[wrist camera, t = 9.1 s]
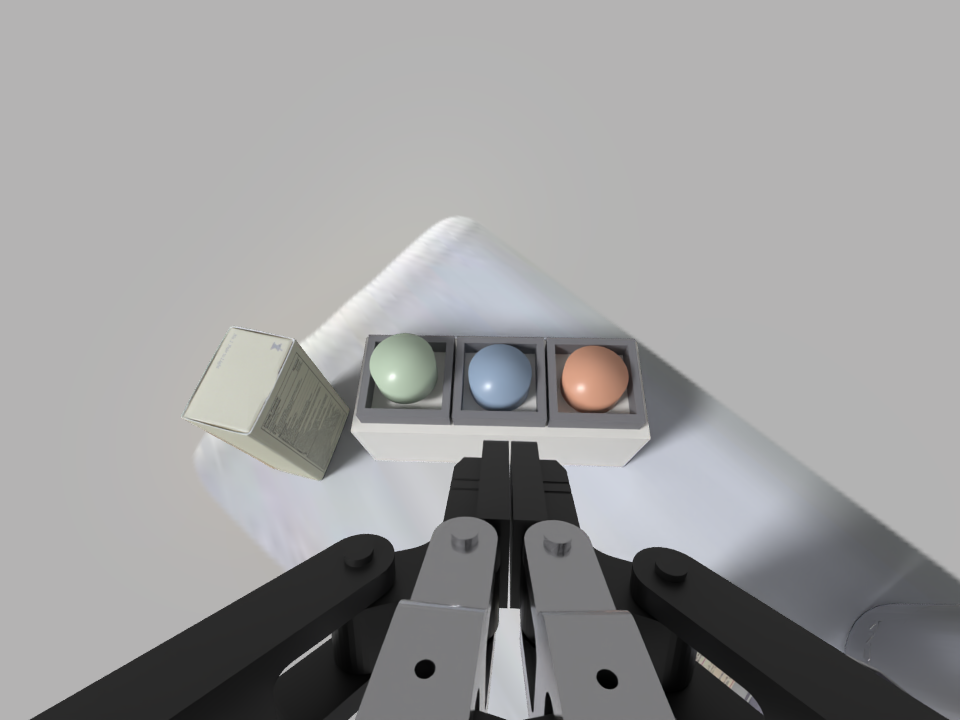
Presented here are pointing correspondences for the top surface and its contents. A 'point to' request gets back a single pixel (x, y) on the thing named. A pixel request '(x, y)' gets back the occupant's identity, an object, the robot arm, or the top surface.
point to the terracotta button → (593, 379)
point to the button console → (541, 418)
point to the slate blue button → (499, 377)
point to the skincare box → (269, 403)
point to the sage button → (404, 368)
